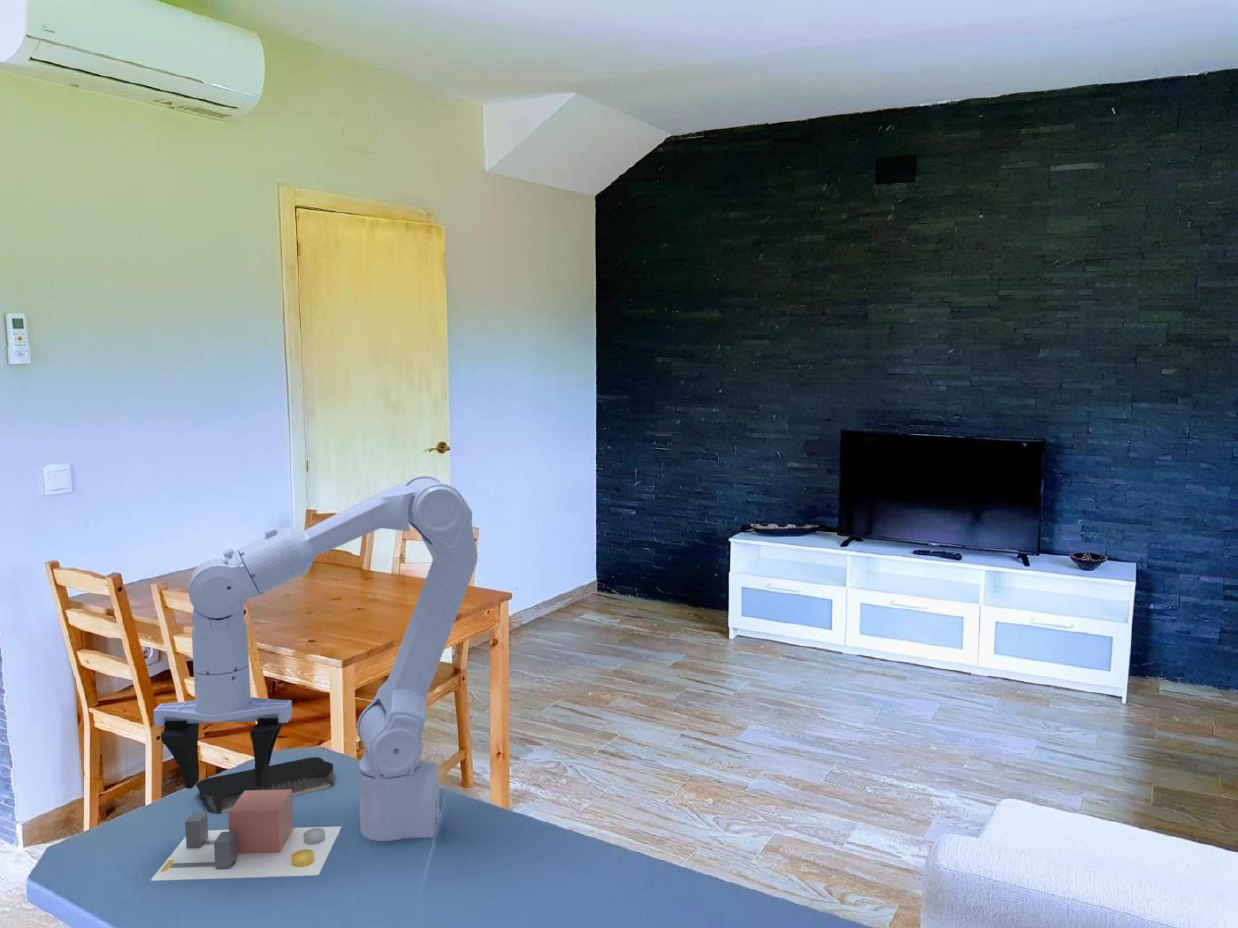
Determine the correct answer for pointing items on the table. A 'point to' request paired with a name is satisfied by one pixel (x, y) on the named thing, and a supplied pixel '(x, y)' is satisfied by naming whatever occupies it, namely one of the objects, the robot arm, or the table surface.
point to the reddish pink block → (262, 820)
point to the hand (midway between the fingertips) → (227, 783)
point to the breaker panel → (246, 855)
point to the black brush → (282, 776)
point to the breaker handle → (225, 849)
